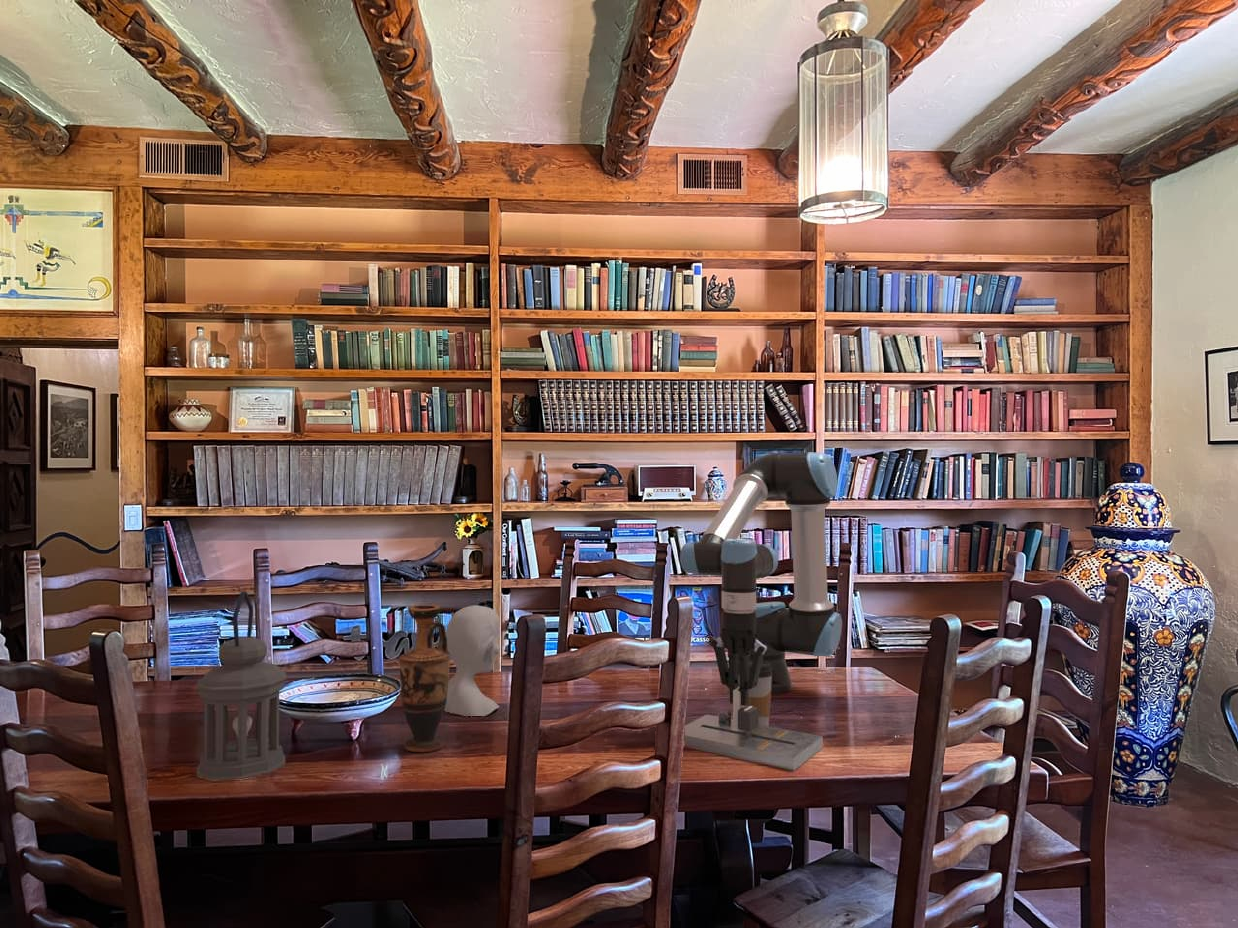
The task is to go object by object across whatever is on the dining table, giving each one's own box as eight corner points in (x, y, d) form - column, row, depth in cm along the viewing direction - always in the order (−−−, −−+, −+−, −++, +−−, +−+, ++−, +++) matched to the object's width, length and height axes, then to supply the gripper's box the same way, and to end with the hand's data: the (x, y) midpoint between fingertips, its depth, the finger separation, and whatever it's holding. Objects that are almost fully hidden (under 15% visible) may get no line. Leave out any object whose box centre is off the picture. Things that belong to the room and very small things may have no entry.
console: (706, 725, 187) (706, 705, 187) (822, 747, 171) (822, 726, 171) (671, 743, 174) (671, 723, 174) (794, 770, 158) (793, 747, 158)
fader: (746, 737, 175) (746, 704, 175) (758, 740, 173) (758, 706, 174) (737, 743, 171) (737, 709, 171) (749, 745, 170) (749, 711, 170)
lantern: (281, 776, 155) (283, 595, 155) (185, 786, 150) (187, 598, 151) (291, 748, 171) (292, 584, 171) (204, 756, 166) (206, 587, 167)
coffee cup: (772, 735, 180) (772, 668, 180) (735, 733, 181) (735, 666, 181) (773, 724, 188) (772, 660, 188) (737, 722, 189) (737, 658, 190)
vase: (404, 758, 165) (405, 612, 165) (393, 742, 174) (394, 605, 175) (456, 750, 170) (456, 608, 170) (442, 735, 179) (443, 601, 180)
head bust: (529, 701, 207) (529, 604, 208) (478, 720, 191) (479, 615, 191) (467, 689, 219) (467, 597, 219) (414, 706, 203) (414, 607, 203)
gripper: (704, 609, 175) (704, 718, 174) (759, 615, 167) (759, 729, 167) (720, 605, 181) (720, 710, 180) (773, 610, 173) (774, 720, 173)
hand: (739, 719), depth 174 cm, fingers closed
